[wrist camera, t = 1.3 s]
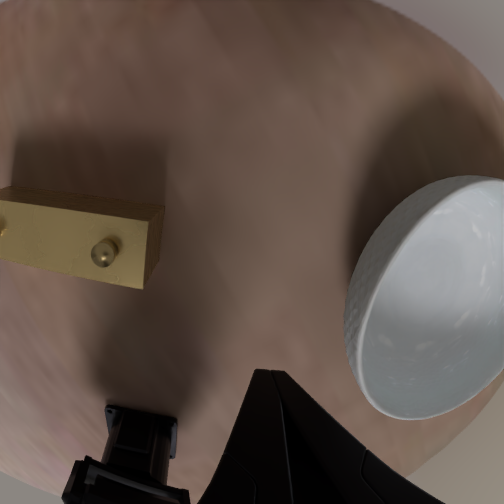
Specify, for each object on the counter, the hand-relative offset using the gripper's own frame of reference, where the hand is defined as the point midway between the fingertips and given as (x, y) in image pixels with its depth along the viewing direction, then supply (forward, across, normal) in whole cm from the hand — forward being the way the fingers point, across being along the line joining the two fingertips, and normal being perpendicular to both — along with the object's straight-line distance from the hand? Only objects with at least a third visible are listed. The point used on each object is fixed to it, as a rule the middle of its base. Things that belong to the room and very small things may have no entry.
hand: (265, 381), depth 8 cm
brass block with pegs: (+12, +11, 0) cm, 17 cm away
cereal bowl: (+12, -14, 0) cm, 19 cm away
